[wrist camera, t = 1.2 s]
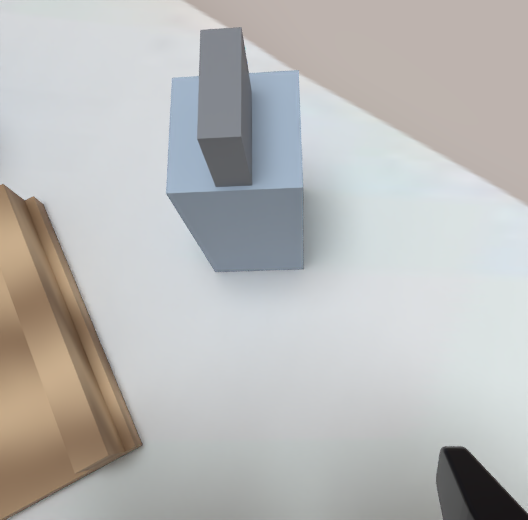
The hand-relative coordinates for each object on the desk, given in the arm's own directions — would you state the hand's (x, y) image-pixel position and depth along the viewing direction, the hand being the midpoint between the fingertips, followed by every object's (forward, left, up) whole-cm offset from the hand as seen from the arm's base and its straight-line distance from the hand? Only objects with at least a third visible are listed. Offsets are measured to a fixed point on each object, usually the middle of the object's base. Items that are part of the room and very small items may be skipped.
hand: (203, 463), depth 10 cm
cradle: (+11, +9, -14) cm, 20 cm away
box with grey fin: (+8, -6, -14) cm, 17 cm away
